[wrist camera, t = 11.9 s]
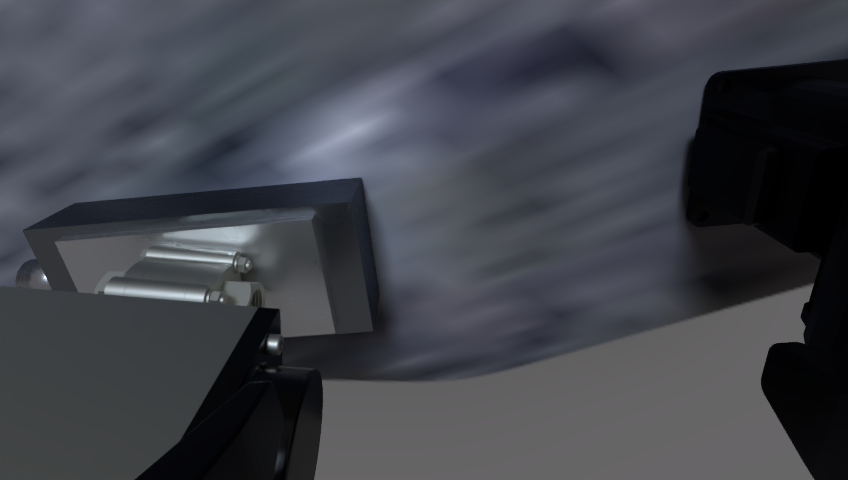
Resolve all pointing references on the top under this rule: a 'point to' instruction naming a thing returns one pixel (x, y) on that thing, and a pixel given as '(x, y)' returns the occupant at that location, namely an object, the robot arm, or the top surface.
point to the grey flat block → (229, 246)
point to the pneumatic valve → (142, 368)
